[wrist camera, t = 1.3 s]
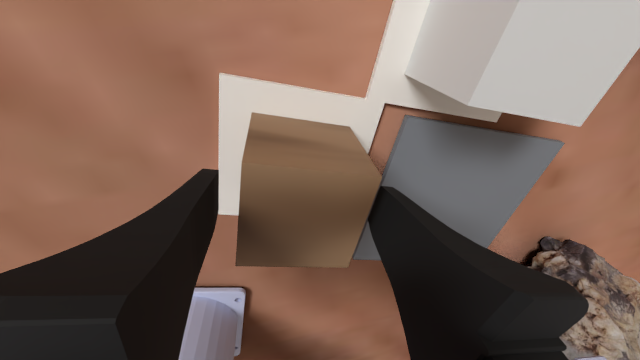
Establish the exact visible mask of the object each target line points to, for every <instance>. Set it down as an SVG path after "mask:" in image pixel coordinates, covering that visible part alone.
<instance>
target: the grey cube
mask: <svg viewBox="0 0 640 360" xmlns="http://www.w3.org/2000/svg"><path fill="white" fill-rule="evenodd" d="M639 47H640V0H430V3H429V6H428V9H427V11H426V14H425V17H424V20H423V23H422V26H421V29H420V31H419V34H418V37H417V40H416V43H415V46H414V49H413V51H412V54H411V57H410V60H409V63H408V66H407V69H406V72H405V75H407V76H409V77H411V78H413V79H415V80H417V81H419V82H421V83H423V84H425V85H427V86H429V87H431V88H433V89H435V90H437V91H439V92H441V93H443V94H445V95H447V96H449V97H451V98H453V99H455V100H457V101H459V102H461V103H463V104H465V105H467V106H472V107H478V108H483V109H488V110H494V111H499V112H504V113H510V114H515V115H520V116H526V117H531V118H536V119H542V120H547V121H552V122H558V123H563V124H568V125H574V126H579V127H580V126H581V125H582V124H583V122H584V121H585V120H586V118H587V117H588V116H589V114H590V113H591V112H592V110H593V109H594V108H595V106H596V105H597V104H598V102H599V101H600V100H601V98H602V97H603V96H604V94H605V93H606V92H607V90H608V89H609V88H610V86H611V85H612V84H613V82H614V81H615V80H616V78H617V77H618V76H619V74H620V73H621V72H622V70H623V69H624V68H625V66H626V65H627V64H628V62H629V61H630V59H631V58H632V57H633V55H634V54H635V53H636V51H637V50H638V49H639Z"/></svg>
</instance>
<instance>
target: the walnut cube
mask: <svg viewBox="0 0 640 360" xmlns="http://www.w3.org/2000/svg"><path fill="white" fill-rule="evenodd" d="M381 179H382V176H381V174H380V172H379V171H378V169H377V168H376V166H375V165H374V163H373V162H372V160H371V159H370V157H369V156H368V154H367V152H366V151H365V149H364V148H363V146H362V145H361V143H360V142H359V140H358V139H357V137H356V136H355V134H354V132H353V131H352V129H351V128H350V127H349V126H342V125H335V124H328V123H321V122H315V121H308V120H301V119H294V118H287V117H281V116H274V115H267V114H260V113H254V112H252V114H251V119H250V124H249V129H248V134H247V139H246V143H245V148H244V153H243V158H242V164H241V182H240V199H239V216H238V234H237V251H236V266H266V267H329V268H348V266H349V264H350V261H351V258H352V256H353V253H354V250H355V248H356V245H357V243H358V240H359V237H360V235H361V232H362V229H363V227H364V224H365V221H366V219H367V216H368V214H369V211H370V208H371V206H372V203H373V200H374V198H375V195H376V193H377V190H378V187H379V185H380V182H381Z"/></svg>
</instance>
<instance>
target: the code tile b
mask: <svg viewBox="0 0 640 360" xmlns="http://www.w3.org/2000/svg"><path fill="white" fill-rule="evenodd" d="M429 3H430V0H393V3H392V7H391V10H390V13H389V17H388V20H387V24H386V27H385V31H384V34H383V38H382V41H381V45H380V48H379V52H378V55H377V58H376V62H375V65H374V69H373V72H372V76H371V79H370V83H369V86H368V90H367V93H366V97H365V99H366V100H371V101H377V102H382V103H388V104H394V105H399V106H405V107H411V108H417V109H422V110H428V111H434V112H439V113H445V114H451V115H457V116H462V117H468V118H474V119H479V120H485V121H491V122H497V121H498V119H499V117H500V116H501V114H502V112H499V111H494V110H488V109H483V108H478V107H472V106H467V105H465V104H463V103H461V102H459V101H457V100H455V99H453V98H451V97H449V96H447V95H445V94H443V93H441V92H439V91H437V90H435V89H433V88H431V87H429V86H427V85H425V84H423V83H421V82H419V81H417V80H415V79H413V78H411V77H409V76H407V75H405V72H406V69H407V66H408V63H409V60H410V57H411V54H412V51H413V49H414V46H415V43H416V40H417V37H418V34H419V31H420V29H421V26H422V23H423V20H424V17H425V14H426V11H427V9H428V6H429Z"/></svg>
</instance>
